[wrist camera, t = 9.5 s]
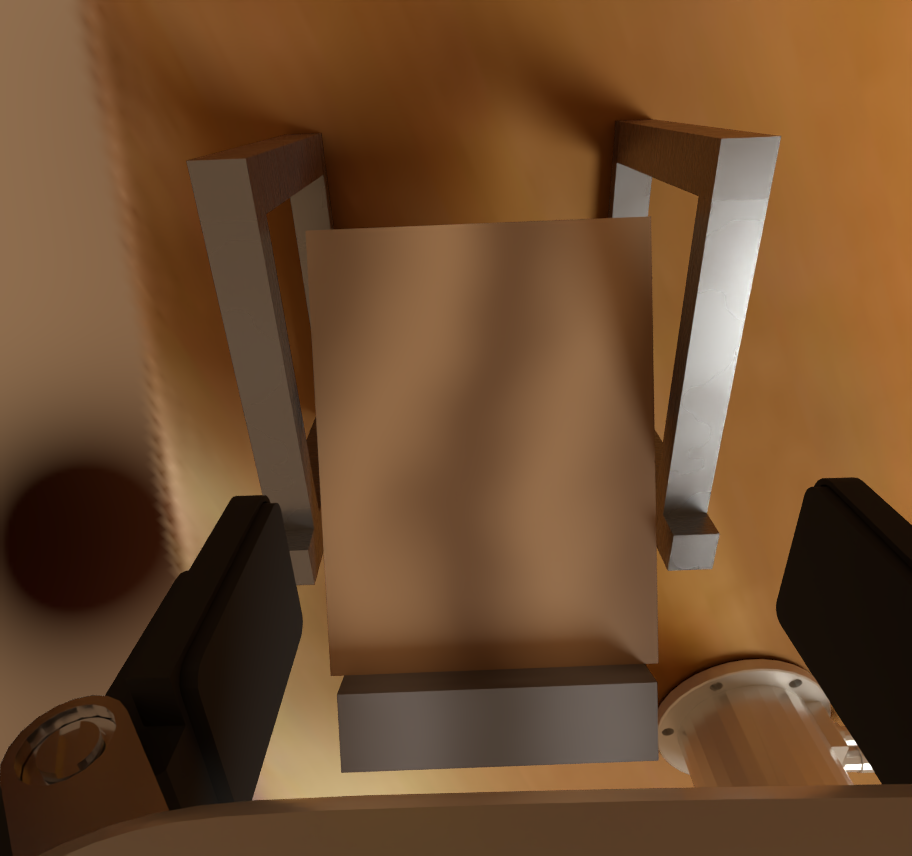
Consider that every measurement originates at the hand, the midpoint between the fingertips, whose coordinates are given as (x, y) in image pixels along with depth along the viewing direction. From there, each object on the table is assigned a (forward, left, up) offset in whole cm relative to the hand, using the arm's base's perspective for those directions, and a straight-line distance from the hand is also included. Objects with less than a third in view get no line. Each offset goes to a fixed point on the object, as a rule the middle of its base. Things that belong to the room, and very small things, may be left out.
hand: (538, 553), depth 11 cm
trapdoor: (0, +6, -12) cm, 13 cm away
